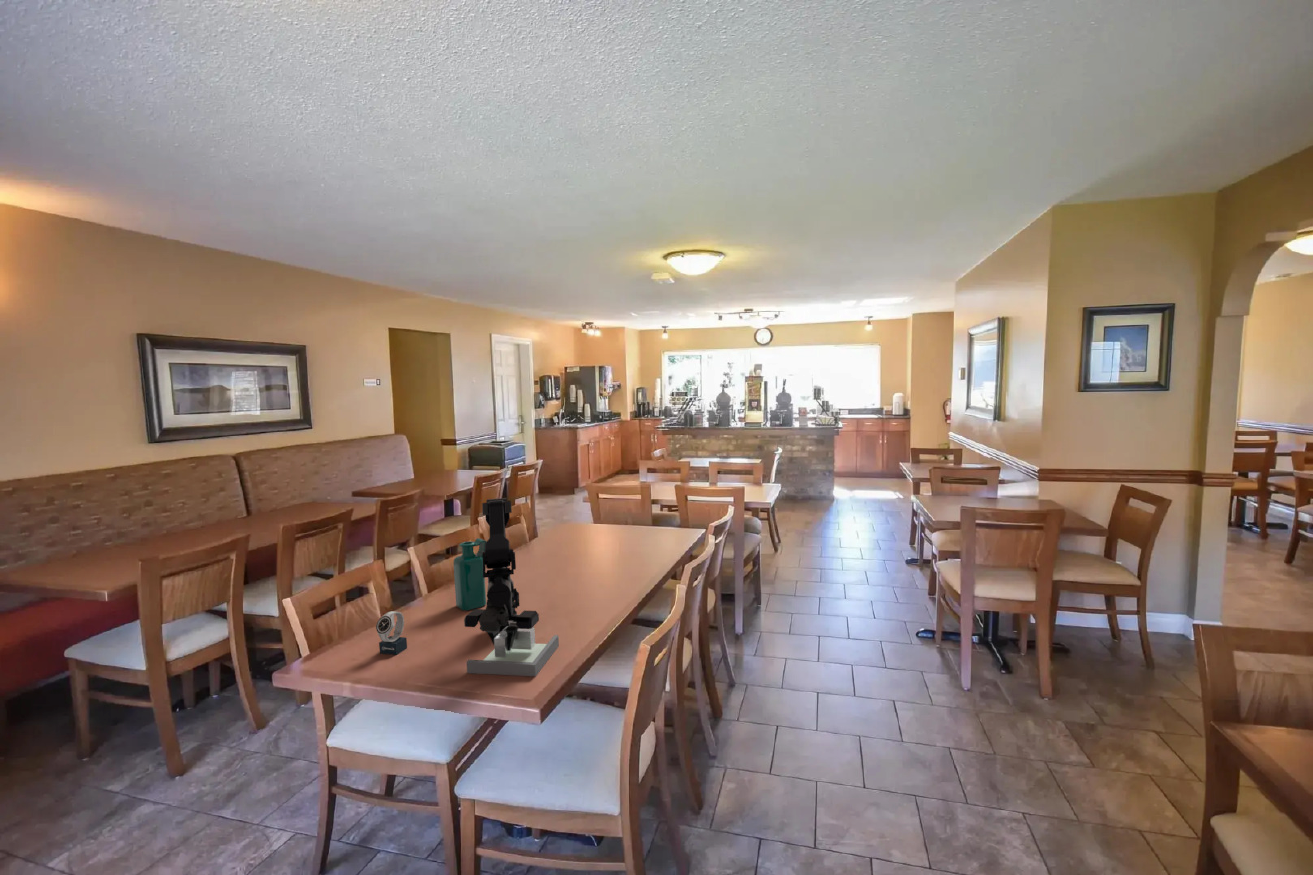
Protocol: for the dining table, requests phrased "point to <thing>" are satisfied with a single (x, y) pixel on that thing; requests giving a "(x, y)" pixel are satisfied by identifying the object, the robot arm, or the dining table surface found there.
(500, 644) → the bracket
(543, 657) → the corner walls
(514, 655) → the mat
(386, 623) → the watch
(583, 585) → the dining table surface
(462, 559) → the green bottle
